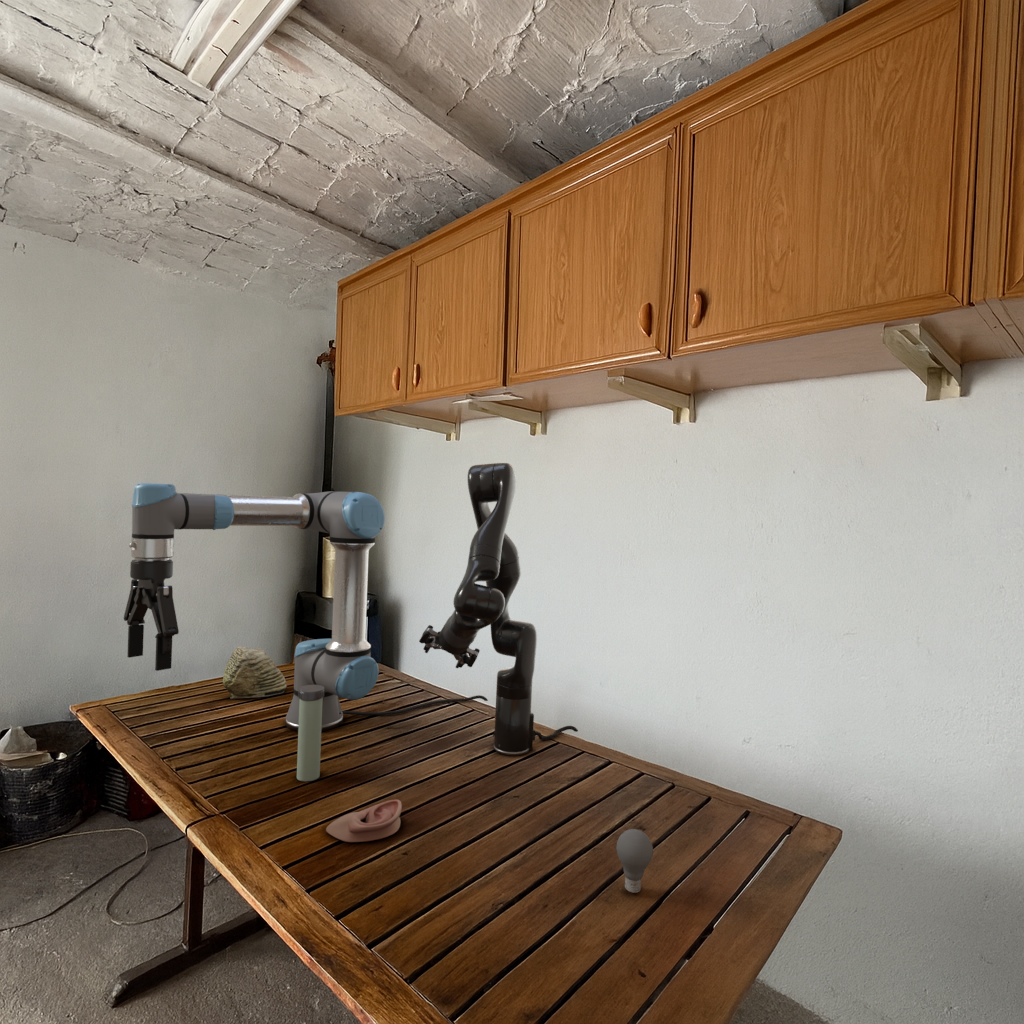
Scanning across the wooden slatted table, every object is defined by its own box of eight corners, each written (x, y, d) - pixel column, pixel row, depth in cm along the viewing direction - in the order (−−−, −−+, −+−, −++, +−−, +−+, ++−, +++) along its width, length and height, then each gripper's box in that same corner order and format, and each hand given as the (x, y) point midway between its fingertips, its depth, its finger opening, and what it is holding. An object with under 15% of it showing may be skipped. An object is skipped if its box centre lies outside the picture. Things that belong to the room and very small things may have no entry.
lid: (328, 697, 142) (328, 689, 142) (303, 702, 139) (304, 693, 139) (318, 691, 147) (318, 683, 147) (294, 695, 143) (294, 687, 143)
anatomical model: (318, 816, 117) (346, 789, 129) (317, 837, 118) (346, 808, 129) (385, 827, 115) (408, 798, 126) (384, 848, 115) (407, 818, 126)
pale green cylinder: (323, 777, 143) (326, 691, 142) (301, 783, 140) (305, 694, 139) (314, 770, 147) (317, 685, 146) (293, 775, 143) (296, 689, 143)
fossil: (218, 695, 195) (220, 647, 195) (278, 685, 208) (279, 640, 207) (228, 703, 189) (230, 653, 188) (289, 692, 201) (290, 645, 201)
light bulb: (610, 879, 108) (613, 822, 108) (644, 879, 109) (647, 822, 109) (619, 902, 102) (622, 840, 102) (655, 901, 103) (658, 840, 103)
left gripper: (108, 554, 134) (104, 654, 134) (159, 565, 118) (155, 678, 119) (146, 552, 140) (143, 648, 140) (199, 563, 124) (195, 671, 124)
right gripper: (492, 632, 148) (473, 656, 161) (437, 605, 148) (423, 632, 160) (480, 659, 144) (462, 682, 156) (424, 631, 143) (410, 657, 156)
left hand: (148, 662), depth 129 cm, fingers open, 13 cm apart
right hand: (442, 657), depth 158 cm, fingers open, 8 cm apart
